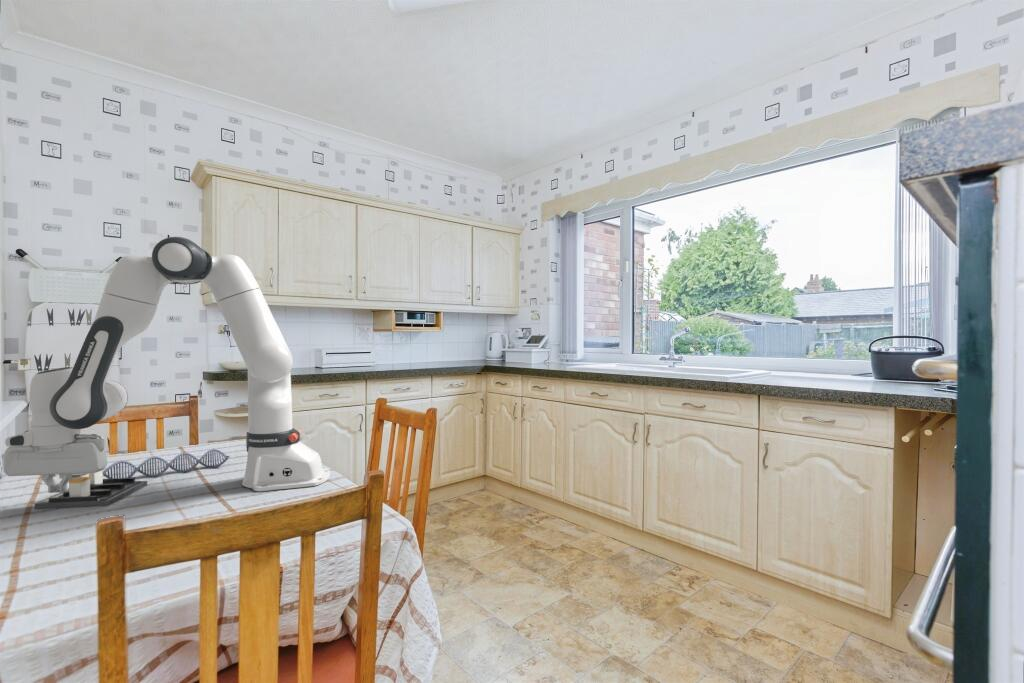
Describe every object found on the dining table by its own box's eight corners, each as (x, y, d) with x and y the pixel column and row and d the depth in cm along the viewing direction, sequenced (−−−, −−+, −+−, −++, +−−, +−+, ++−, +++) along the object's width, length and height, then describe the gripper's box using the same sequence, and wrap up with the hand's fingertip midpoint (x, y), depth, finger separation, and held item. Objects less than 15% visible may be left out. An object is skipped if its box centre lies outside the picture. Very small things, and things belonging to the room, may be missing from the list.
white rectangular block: (89, 489, 124) (88, 471, 124) (80, 493, 121) (80, 474, 121) (78, 489, 124) (77, 471, 124) (69, 493, 121) (68, 475, 121)
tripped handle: (90, 495, 120) (89, 476, 120) (81, 499, 117) (80, 480, 117) (78, 495, 120) (78, 477, 119) (69, 499, 117) (69, 480, 117)
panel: (147, 485, 132) (147, 477, 132) (109, 505, 117) (109, 496, 117) (81, 487, 130) (81, 479, 130) (34, 508, 115) (34, 499, 115)
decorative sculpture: (230, 467, 149) (229, 448, 149) (97, 488, 130) (97, 466, 130) (227, 463, 154) (226, 445, 154) (99, 483, 135) (98, 462, 135)
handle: (102, 483, 129) (102, 465, 129) (94, 486, 126) (94, 469, 126) (92, 483, 129) (91, 466, 129) (84, 487, 126) (83, 469, 126)
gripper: (112, 430, 122) (114, 485, 122) (20, 433, 119) (22, 489, 119) (94, 436, 116) (96, 494, 116) (-4, 439, 113) (-2, 498, 113)
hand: (57, 491), depth 118 cm, fingers closed
